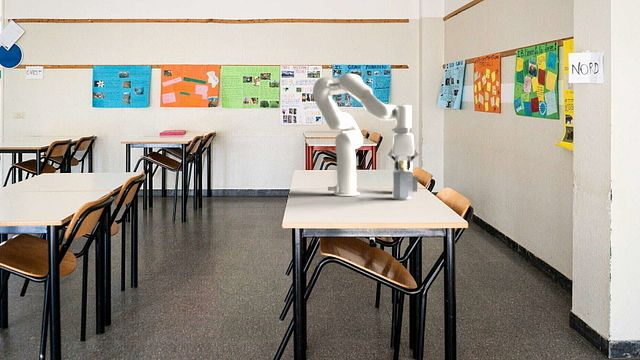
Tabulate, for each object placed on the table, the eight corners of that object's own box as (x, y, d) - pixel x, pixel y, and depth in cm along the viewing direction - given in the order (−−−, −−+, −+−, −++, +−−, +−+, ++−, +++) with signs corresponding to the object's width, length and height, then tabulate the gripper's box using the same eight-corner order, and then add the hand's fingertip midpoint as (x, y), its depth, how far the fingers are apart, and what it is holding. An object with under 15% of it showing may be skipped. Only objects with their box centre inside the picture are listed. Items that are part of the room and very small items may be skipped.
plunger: (396, 194, 296) (397, 161, 294) (395, 193, 302) (395, 160, 300) (409, 194, 296) (410, 161, 294) (407, 193, 302) (408, 160, 300)
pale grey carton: (393, 200, 295) (394, 172, 293) (391, 197, 304) (391, 170, 303) (418, 200, 295) (418, 172, 293) (415, 197, 304) (415, 170, 303)
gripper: (386, 131, 292) (385, 170, 294) (422, 131, 292) (421, 170, 294) (384, 131, 300) (384, 169, 302) (419, 131, 300) (419, 169, 302)
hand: (402, 169), depth 298 cm, fingers open, 4 cm apart
